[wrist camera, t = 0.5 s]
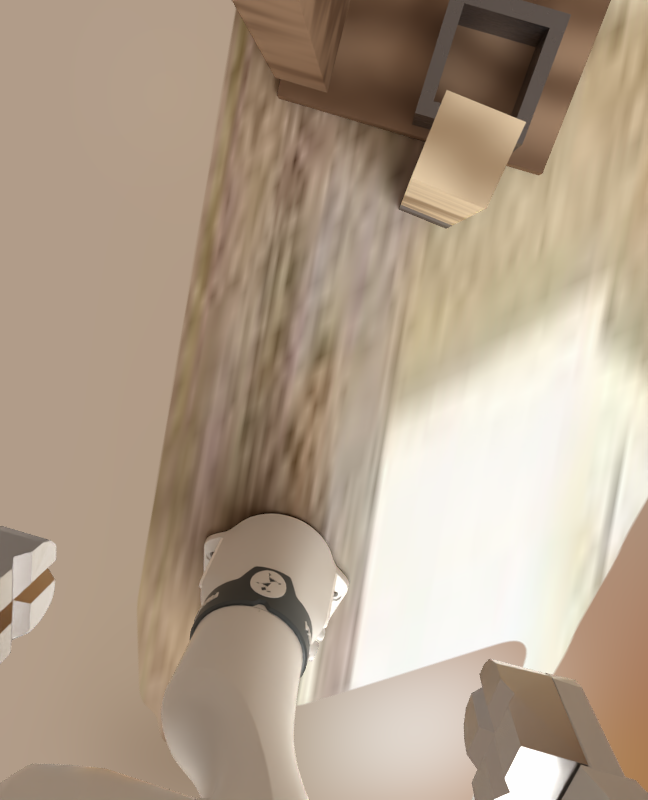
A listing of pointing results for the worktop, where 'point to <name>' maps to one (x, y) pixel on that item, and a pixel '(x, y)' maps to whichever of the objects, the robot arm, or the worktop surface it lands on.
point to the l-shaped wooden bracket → (430, 59)
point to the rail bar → (460, 161)
